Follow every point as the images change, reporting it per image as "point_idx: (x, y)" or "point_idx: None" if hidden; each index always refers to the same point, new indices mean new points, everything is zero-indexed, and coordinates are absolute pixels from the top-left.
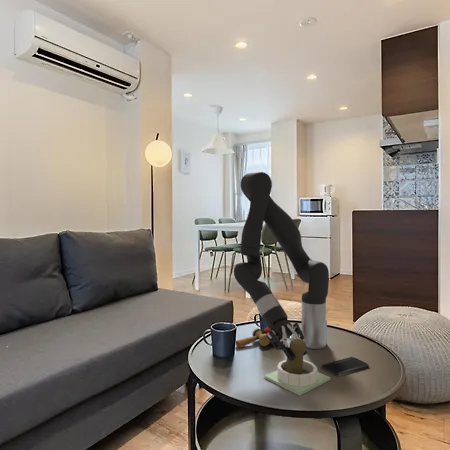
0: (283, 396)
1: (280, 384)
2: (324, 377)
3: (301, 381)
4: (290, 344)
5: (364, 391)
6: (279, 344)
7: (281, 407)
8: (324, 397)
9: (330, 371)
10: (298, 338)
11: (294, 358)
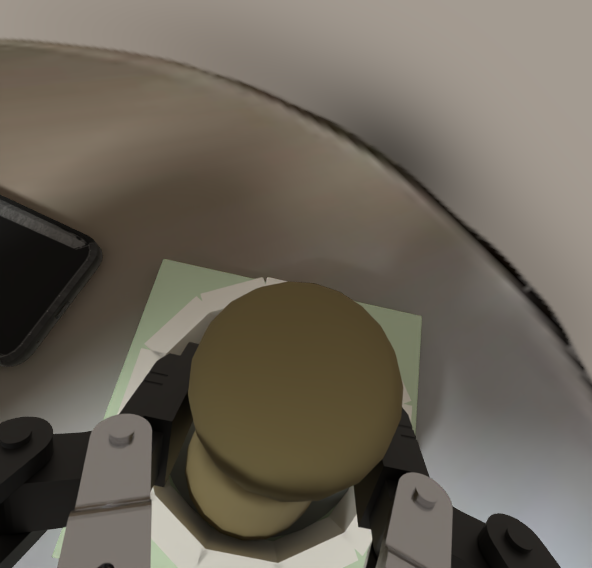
0: (475, 379)
1: None
2: (184, 281)
3: None
4: (384, 451)
5: (193, 125)
6: (554, 564)
7: (548, 339)
8: (348, 230)
9: (76, 286)
10: (121, 463)
11: None
